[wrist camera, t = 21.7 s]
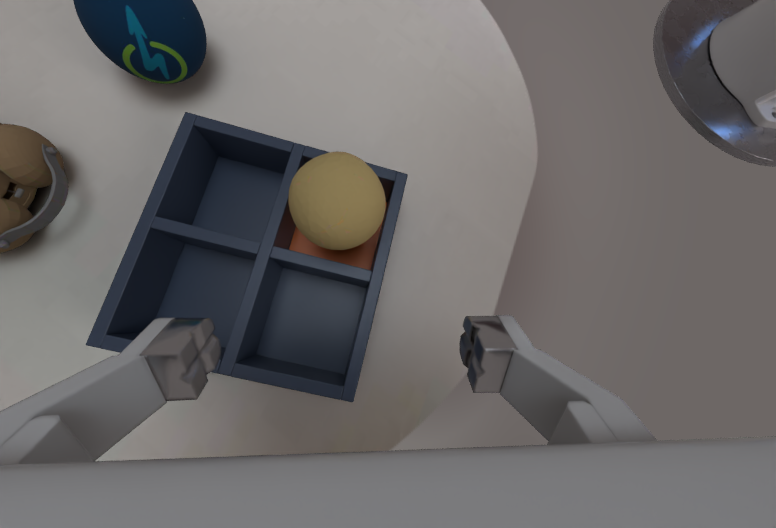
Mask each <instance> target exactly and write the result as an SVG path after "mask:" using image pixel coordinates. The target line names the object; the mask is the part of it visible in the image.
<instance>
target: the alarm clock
mask: <svg viewBox="0 0 776 528" xmlns="http://www.w3.org/2000/svg"><path fill="white" fill-rule="evenodd" d="M51 184H52V188H51V192H50V195H49V198H48V200H47V201H46V203H45V204H44V206H43V208H42V209H41V210H40V211H39V212H38V213H37V214H36V216H34V217H33V215H32V214H31V213H30V212H29V211H28V210H27V208H28V207H29V205H30V204H31V202H32V201H33V200H34V197H35V194H36V190H37V188H43V187H46V186H49V185H51ZM67 193H68V180H67V177H66V175H65V173H64V163H63V159H62V157H61V155H60V153H59V151H58V150H57V149H56V147H55V146H54V145H53V144H52V143H51V142H50V141H49V140H47V139H46V138H45V137H43V136H42V135H40V134H39V133H37V132H35V131H33V130H30V129H28V128H26V127H22V126H17V125H11V124H1V123H0V253H2V252H6V251H10V250H12V249H15V248H17V247H19V246H21V245H22V244H24V243H25V242H27V241H28V240H29V239H30V238H31V236H32V235H33V234H34V232H36V231H38V230H40V229H42V228H43V227H45V226H46V225H48V224H49V223H50V222H51V221H52V220H53V219H54V218H55V217H56V216H57V215H58V213H59V212H60V210H61V209H62V207H63V206H64V203H65V201H66V198H67Z"/></svg>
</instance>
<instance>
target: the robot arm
mask: <svg viewBox="0 0 776 528" xmlns="http://www.w3.org/2000/svg"><path fill="white" fill-rule="evenodd" d="M710 56H711V60H712V63H713V66H714V68H715V71H716V73H717V75H718V76H719V78H720V80H721V81H722V83H723V84H724V85H725V87H726V88H727V89H728V90H729V91H730V92H731V93H732V94H733V95H734V96H735V97H736V98H737V99H738V100H739V101H740V103H741V104H742V105H743V107H744V109H745V111H746V112H747V114H748V116H749V118H750V119H751V120H752V122H753V123H754V124H755V125H757V126H759V127H765V128H772V129H776V0H758V1H756V2H755V3H753V4H751V5H750V6H748V7H746V8H745V9H743V10H741V11H739V12H738V13H736V14H734V15H732V16H730V17H728V18H727V19H725V20H723V21H721V22H720V23H719V24H718V25H717V26H716V27H715V28H714V30H713V32H712V35H711V38H710ZM463 327H464V330H465V332H464V333H463V334H462V335H461V338H460V355H461V359H462V362H463V365H465V366H466V367H467V368H468V373H467V377H468V379H469V382H470V385H471V387H472V390H473V392H474V393H500V395H501V396H502V397H504V399H505V400H507V401H508V402H509V403H510V404H511V405H512V406H513V407H514V408H515V409H516V410H517V411H518V412H519V413H520V414H521V415H522V416H523V417H524V418H525V419H526V420H527V421H528V422H529V423H530V424H531V425H532V426H534V428H535V429H536V430H537V431H538V432H539V433H541V435H542V436H544V437H545V438H546V439H547V440H548V441H549V442H548V444H547V445H532V446H531V445H529V446H501V447H473V448H449V449H423V450H422V449H421V450H395V451H369V452H342V453H314V454H287V455H259V456H232V457H205V458H178V459H151V460H124V461H97V462H96V461H95V460H96V459H98V458H99V457H100V456H101V455H103V454H104V453H105V452H106V451H108V450H109V449H110V448H111V447H112V446H114V445H115V444H116V443H117V442H119V441H120V440H121V439H122V438H124V437H125V436H126V435H127V434H128V433H130V432H131V431H132V430H133V429H135V428H136V427H137V426H138V425H140V424H141V423H142V422H143V421H145V420H146V419H147V418H148V417H149V416H151V415H152V414H153V413H154V412H156V411H157V410H158V409H159V408H161V407H162V406H163V405H164V404H165V403H166V401H177V400H197V399H198V397H199V395H200V394H201V392H202V390H203V389H204V387H205V385H206V383H207V382H208V379H207V374H208V373H210V372H211V371H213V370H214V369H215V368H216V366H217V364H218V362H219V360H220V355H221V343H220V340H219V338H217V337H216V336H215V335H214V334H212V333H213V332H214V330H215V329H216V327H215V325H214V322H213V320H212V319H210V318H158V319H155V320H153V321H152V322H151V323H150V324H149V325H148V326H147V327H146V328H145V329H144V330H143V331H142V332H141V333H140V334H139V335H138V336H137V337H136V338H135V339H134V340H133V341H132V342H131V343H130V344H129V345H128V346H127V347H126V348H125V349H124V350H123V351H122V352H121V353H120V354H119V355H118V356H111V357H109V358H107V359H105V360H103V361H101V362H99V363H97V364H95V365H93V366H91V367H89V368H87V369H85V370H83V371H81V372H79V373H77V374H75V375H73V376H71V377H69V378H67V379H65V380H63V381H61V382H59V383H57V384H55V385H53V386H51V387H49V388H46V389H44V390H42V391H40V392H38V393H36V394H34V395H32V396H30V397H28V398H26V399H24V400H22V401H20V402H18V403H16V404H14V405H12V406H10V407H8V408H6V409H4V410H2V411H0V528H776V436H770V437H769V436H768V437H744V438H720V439H719V438H717V439H693V440H665V441H657V440H656V438H655V437H654V436H653V435H652V434H651V433H650V431H649V430H648V429H647V428H646V427H645V425H644V424H643V423H642V422H641V421H640V420H639V418H638V417H637V416H636V415H635V414H634V413H633V411H632V410H631V409H630V408H629V407H628V405H627V404H626V403H625V402H624V401H623V400H622V399H621V398H619V397H618V396H616V395H615V394H613V393H611V392H610V391H608V390H607V389H605V388H603V387H601V386H600V385H598V384H597V383H595V382H593V381H592V380H590V379H588V378H587V377H585V376H583V375H582V374H580V373H578V372H577V371H575V370H574V369H572V368H570V367H568V366H567V365H565V364H564V363H562V362H560V361H559V360H557V359H555V358H554V357H552V356H550V355H548V354H547V353H546V352H544V351H542V350H540V349H535V348H534V346H533V345H532V343H531V342H530V340H529V339H528V337H527V336H526V335H525V333H524V331H523V330H522V329H521V327H520V326H519V324H518V323H517V321H516V320H515V318H514V317H513V316H511V315H496V316H466V317H465V319H464V323H463Z"/></svg>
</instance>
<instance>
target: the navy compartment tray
mask: <svg viewBox="0 0 776 528" xmlns="http://www.w3.org/2000/svg"><path fill="white" fill-rule="evenodd" d="M326 153H330V152H326V151H323V150H319V149H316V148H312V147H309V146H304V145H301V144H297V143H294V142H290V141H287V140H283V139H280V138H276V137H273V136H269V135H266V134H262V133H258V132H255V131H251V130H248V129H244V128H241V127H237V126H233V125H230V124H226V123H223V122H219V121H216V120H212V119H209V118H205V117H201V116H197V115H195V114H191V113H188V112H185V114H184V117H183V119H182V121H181V124H180V126H179V128H178V131H177V133H176V135H175V138H174V140H173V142H172V145H171V147H170V149H169V152H168V154H167V156H166V159H165V161H164V163H163V166H162V168H161V170H160V173H159V175H158V177H157V180H156V182H155V184H154V187H153V189H152V191H151V194H150V196H149V198H148V201H147V203H146V205H145V208H144V210H143V212H142V215H141V217H140V219H139V222H138V224H137V226H136V229H135V231H134V233H133V236H132V238H131V240H130V243H129V245H128V247H127V250H126V252H125V254H124V257H123V259H122V261H121V264H120V266H119V268H118V271H117V273H116V275H115V278H114V280H113V282H112V285H111V287H110V289H109V292H108V294H107V296H106V299H105V301H104V303H103V306H102V308H101V310H100V313H99V315H98V317H97V319H96V322H95V324H94V326H93V329H92V331H91V333H90V336H89V338H88V340H87V343H86V345H88V346H92V347H97V348H101V349H106V350H111V351H115V352H120V353H121V352H122V351H123V350H124V349H125V348H126V347H127V346H128V345H129V344H130V343H131V342H132V341H133V340H134V339H135V338H136V337H137V336H138V335H139V334H140V333H141V332H142V331H143V330H144V329H145V328H146V327H147V326H148V325H149V324H150V323H151V322H152V321H153V320H155V319H158V318H210V319H212V320H213V322H214V325H215V327H216V329H215V330H214V332H213V333H212V334H214V335H215V336H216V337H217V338H219V340H220V343H221V355H220V360H219V362H218V364H217V366H216V368H215V369H214V370H213V371H211V372H213V373H219V374H223V375H228V376H232V377H236V378H241V379H246V380H250V381H255V382H260V383H264V384H269V385H274V386H278V387H283V388H288V389H292V390H297V391H301V392H306V393H311V394H315V395H320V396H325V397H329V398H334V399H339V400H340V399H341V400H343V401H348V402H353V401H354V397H355V393H356V389H357V385H358V380H359V376H360V372H361V368H362V364H363V360H364V355H365V351H366V347H367V343H368V339H369V334H370V330H371V326H372V322H373V318H374V314H375V309H376V305H377V301H378V297H379V293H380V288H381V284H382V280H383V276H384V272H385V268H386V263H387V259H388V255H389V251H390V247H391V242H392V238H393V234H394V230H395V226H396V222H397V217H398V213H399V209H400V205H401V201H402V197H403V192H404V188H405V184H406V180H407V176H408V175H407V174H404V173H401V172H397V171H394V170H390V169H387V168H383V167H380V166H376V165H373V164H369V163H366V162H365V163H366V164H367V165H368V166H369V167H370V168H371V169H372V170H373V171H374V172H375V174H376V175H377V176H378V178H379V180H380V182H381V184H382V187H383V189H384V193H385V198H386V208H385V213H384V217H383V220H382V223H381V224H380V226H379V228H378V229H377V231H376V232H375V233H374V235H373V236H372V237H371V238H370V239H368V240H367V241H366V242H364V243H363V244H361V245H359V246H356V247H354V248H351V249H346V250H331V249H326V248H323V247H320V246H318V245H316V244H314V243H313V242H311V241H310V240H308V239H307V238H306V237H305V236H304V235H303V234H302V233H301V232H300V231H299V229H298V228H297V226H296V224H295V223H294V221H293V218H292V215H291V213H290V208H289V202H288V198H289V188H290V185H291V182H292V179H293V177H294V176H295V174H296V173H297V172H298V170H299V169H300V168H301V167H302V166H303V165H304V164H306V163H307V162H308V161H310V160H311V159H313V158H315V157H317V156H320V155H323V154H326Z"/></svg>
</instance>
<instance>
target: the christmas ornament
mask: <svg viewBox="0 0 776 528" xmlns="http://www.w3.org/2000/svg"><path fill="white" fill-rule="evenodd" d="M74 5H75V8H76V12H77V15H78V17H79V19H80V21H81V24H82V25H83V27H84V29H85V31H86V32H87V34H88V36H89V37H90V38H91V40H92V41H93V42H94V44H95V45H96V46H97V47H98V48H99V49H100V50H101V51H102V52H103V53H104V54H105V55H106V56H107V57H108V58H109V59H110V60H111V61H112V62H114V63H115V64H116V65H118V66H119V67H120V68H122V69H124V70H125V71H127V72H129V73H130V74H132V75H134V76H137V77H139V78H141V79H144V80H148V81H151V82H156V83H177V82H181V81H184V80H186V79H188V78H190V77H191V76H193V75H194V74H195V73H196V72H197V71H198V69H199V68H200V67H201V65H202V63H203V61H204V58H205V54H206V44H207V43H206V33H205V28H204V25H203V21H202V19H201V16H200V14H199V12H198V10H197V8H196V6H195V4H194V2H193V1H192V0H74Z"/></svg>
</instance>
